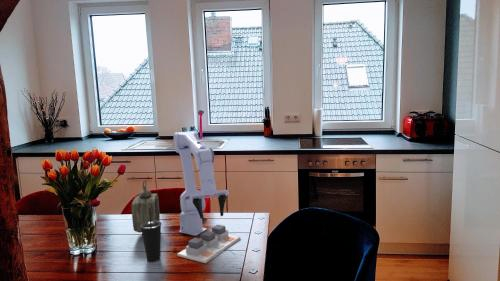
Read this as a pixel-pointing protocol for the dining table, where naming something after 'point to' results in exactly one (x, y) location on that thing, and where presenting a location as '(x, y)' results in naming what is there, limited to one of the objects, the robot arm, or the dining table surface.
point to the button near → (195, 243)
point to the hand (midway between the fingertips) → (212, 217)
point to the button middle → (208, 235)
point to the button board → (209, 247)
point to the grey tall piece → (144, 208)
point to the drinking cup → (152, 238)
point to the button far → (218, 229)
